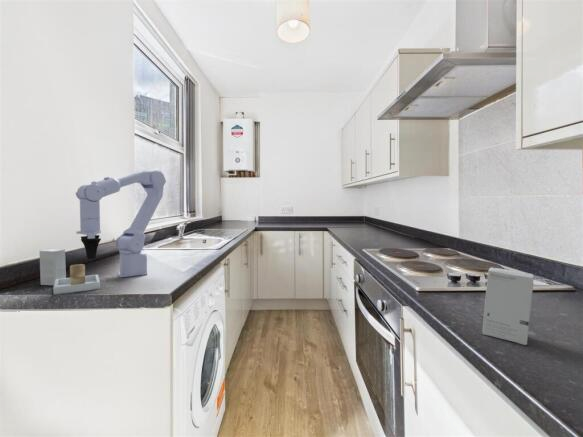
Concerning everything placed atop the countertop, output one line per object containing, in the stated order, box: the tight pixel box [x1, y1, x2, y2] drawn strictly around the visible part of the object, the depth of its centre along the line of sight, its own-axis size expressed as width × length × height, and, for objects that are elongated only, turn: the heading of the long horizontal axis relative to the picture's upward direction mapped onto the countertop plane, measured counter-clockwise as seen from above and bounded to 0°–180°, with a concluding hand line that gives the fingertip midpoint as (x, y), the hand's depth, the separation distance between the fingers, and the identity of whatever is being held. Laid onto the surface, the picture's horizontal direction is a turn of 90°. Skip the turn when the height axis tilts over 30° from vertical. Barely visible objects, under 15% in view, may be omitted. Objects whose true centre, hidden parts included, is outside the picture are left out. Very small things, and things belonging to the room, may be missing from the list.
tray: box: [52, 274, 101, 296], centre depth 97 cm, size 12×12×2 cm
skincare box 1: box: [39, 248, 67, 286], centre depth 101 cm, size 6×4×12 cm
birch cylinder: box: [69, 263, 86, 285], centre depth 97 cm, size 4×4×7 cm
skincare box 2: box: [482, 267, 535, 346], centre depth 65 cm, size 8×6×15 cm
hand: (91, 256), depth 102 cm, fingers open, 7 cm apart
